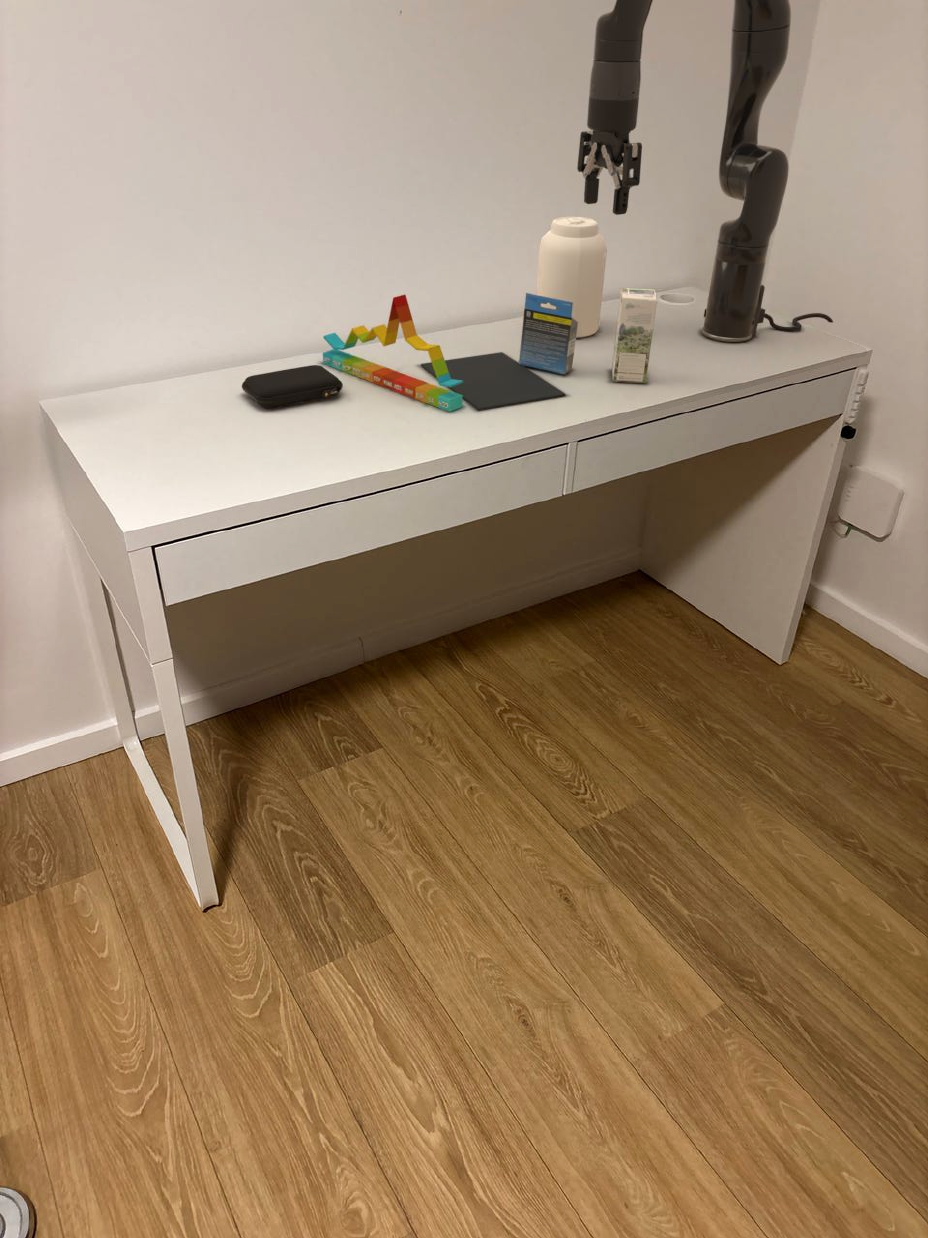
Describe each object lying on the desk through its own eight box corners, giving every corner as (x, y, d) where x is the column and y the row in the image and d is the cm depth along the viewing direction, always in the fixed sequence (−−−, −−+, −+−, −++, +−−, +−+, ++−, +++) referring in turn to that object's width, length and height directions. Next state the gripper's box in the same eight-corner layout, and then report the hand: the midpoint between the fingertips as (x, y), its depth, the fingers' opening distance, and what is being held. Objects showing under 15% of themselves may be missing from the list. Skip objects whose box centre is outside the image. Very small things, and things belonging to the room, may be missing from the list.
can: (538, 316, 194) (545, 210, 183) (601, 322, 192) (612, 214, 181) (529, 336, 184) (536, 224, 173) (595, 341, 182) (607, 229, 171)
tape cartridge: (572, 369, 169) (582, 297, 163) (564, 375, 166) (574, 302, 160) (526, 359, 172) (534, 288, 166) (517, 364, 169) (525, 292, 163)
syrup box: (644, 372, 169) (655, 287, 161) (646, 384, 164) (657, 297, 156) (611, 370, 169) (620, 285, 161) (612, 382, 164) (622, 296, 156)
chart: (322, 363, 169) (316, 275, 160) (336, 359, 171) (331, 271, 162) (448, 412, 152) (449, 316, 144) (462, 407, 154) (464, 311, 145)
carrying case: (264, 415, 149) (350, 398, 156) (262, 396, 147) (349, 380, 154) (239, 393, 156) (322, 377, 163) (236, 374, 155) (321, 360, 161)
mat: (501, 354, 175) (501, 351, 175) (565, 395, 159) (565, 393, 159) (420, 365, 169) (420, 363, 169) (478, 410, 153) (478, 408, 153)
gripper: (662, 98, 142) (649, 215, 152) (609, 87, 153) (600, 197, 162) (619, 101, 140) (609, 220, 149) (568, 89, 150) (561, 201, 160)
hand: (604, 208), depth 156 cm, fingers open, 8 cm apart
